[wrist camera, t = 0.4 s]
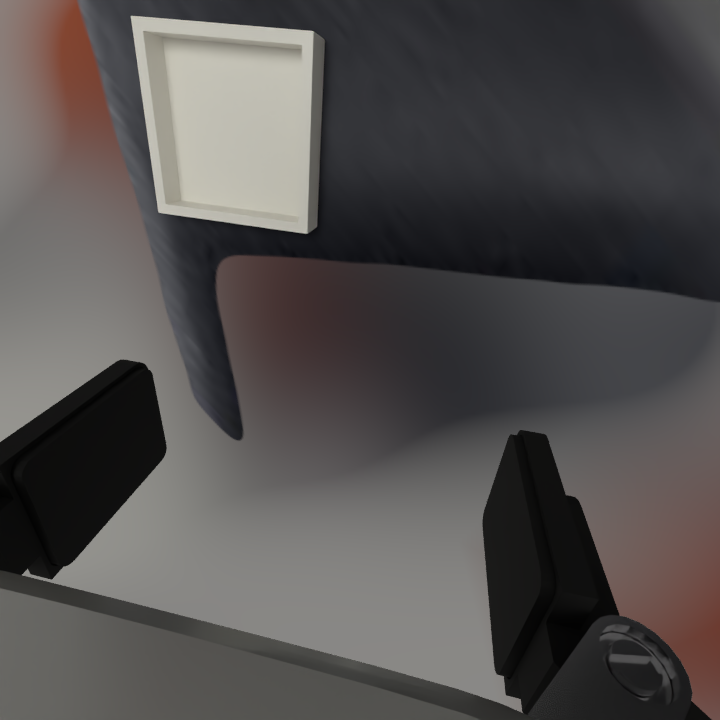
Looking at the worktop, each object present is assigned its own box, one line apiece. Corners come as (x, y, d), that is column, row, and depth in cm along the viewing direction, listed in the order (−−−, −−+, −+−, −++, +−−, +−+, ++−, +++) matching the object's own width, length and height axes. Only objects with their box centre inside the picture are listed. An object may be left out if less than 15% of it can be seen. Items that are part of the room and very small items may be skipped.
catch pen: (156, 24, 32) (130, 15, 30) (324, 39, 31) (313, 31, 28) (177, 207, 39) (158, 212, 37) (317, 226, 38) (307, 233, 35)
